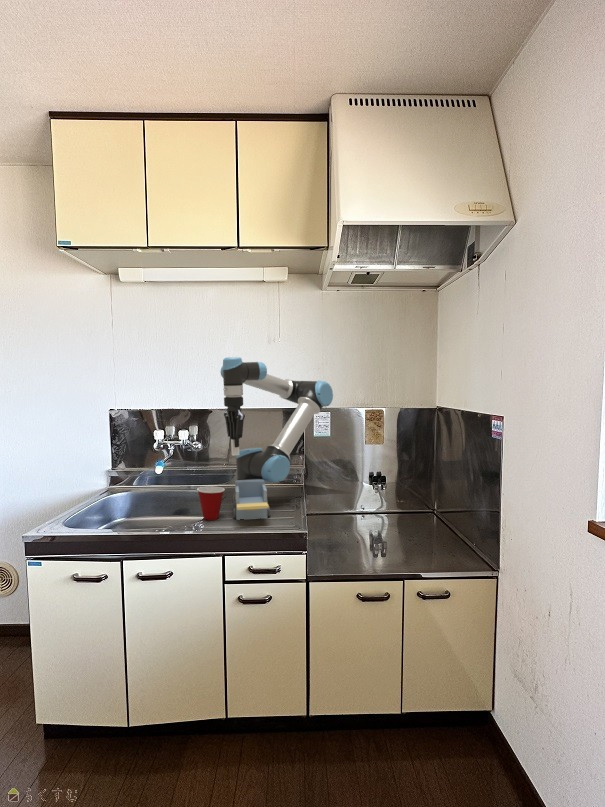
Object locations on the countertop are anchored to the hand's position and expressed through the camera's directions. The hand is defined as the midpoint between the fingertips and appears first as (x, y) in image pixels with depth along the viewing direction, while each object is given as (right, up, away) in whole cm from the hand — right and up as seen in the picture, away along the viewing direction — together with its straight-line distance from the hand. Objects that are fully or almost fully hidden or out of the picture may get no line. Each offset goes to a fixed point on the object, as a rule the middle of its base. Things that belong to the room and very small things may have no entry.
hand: (235, 454), depth 188 cm
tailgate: (+7, -18, -6) cm, 21 cm away
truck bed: (+6, -24, +2) cm, 25 cm away
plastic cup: (-9, -25, -4) cm, 26 cm away
